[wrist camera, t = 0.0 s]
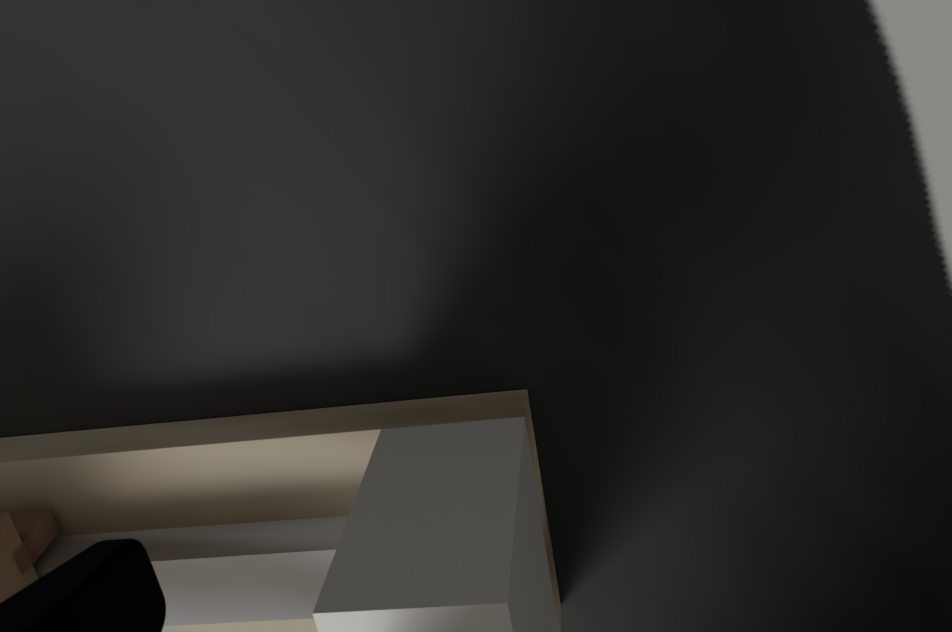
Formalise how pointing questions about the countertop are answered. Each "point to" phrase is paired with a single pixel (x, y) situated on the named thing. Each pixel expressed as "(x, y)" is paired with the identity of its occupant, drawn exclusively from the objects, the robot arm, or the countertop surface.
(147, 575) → the robot arm
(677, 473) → the countertop surface
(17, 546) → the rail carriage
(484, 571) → the cabinet
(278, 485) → the rail track
